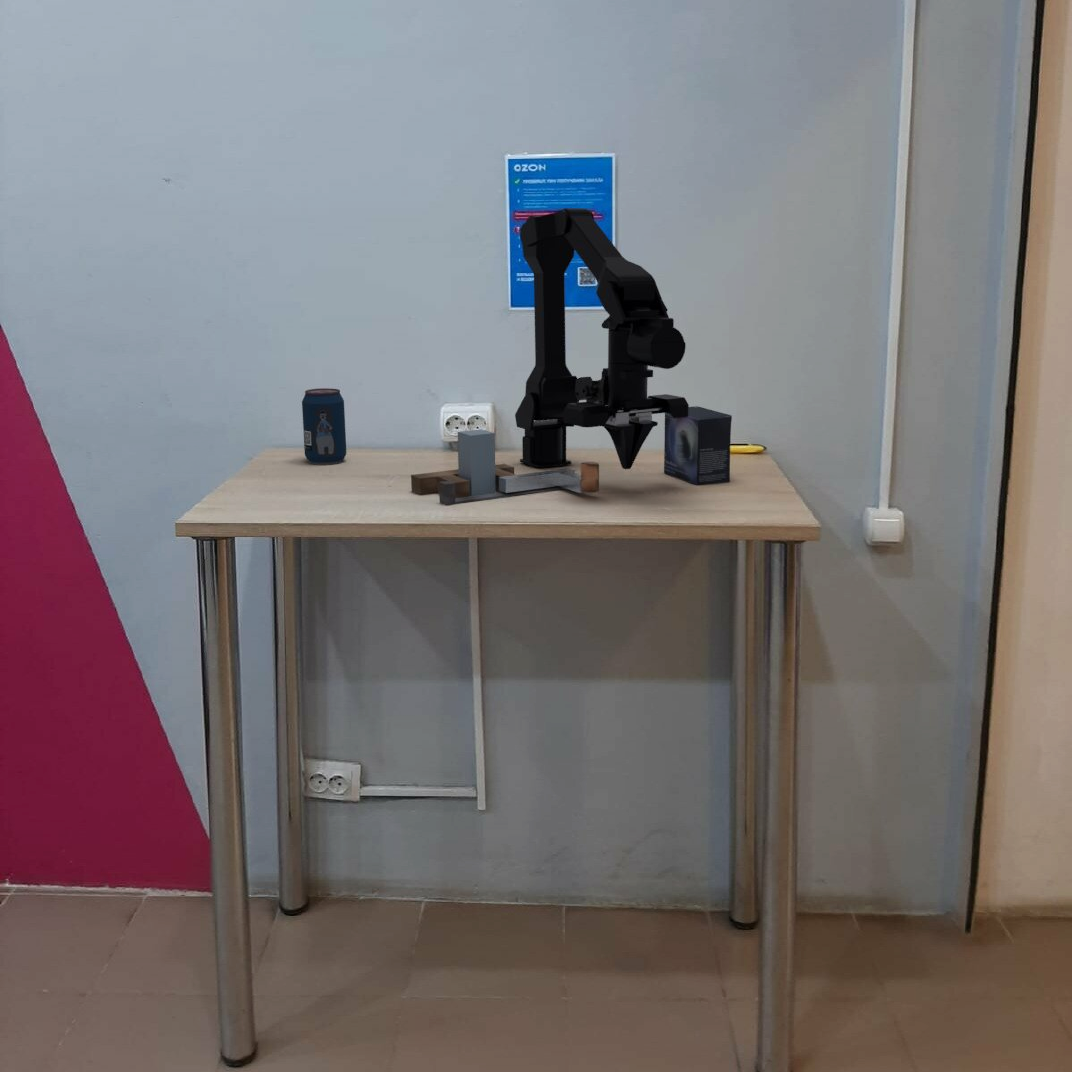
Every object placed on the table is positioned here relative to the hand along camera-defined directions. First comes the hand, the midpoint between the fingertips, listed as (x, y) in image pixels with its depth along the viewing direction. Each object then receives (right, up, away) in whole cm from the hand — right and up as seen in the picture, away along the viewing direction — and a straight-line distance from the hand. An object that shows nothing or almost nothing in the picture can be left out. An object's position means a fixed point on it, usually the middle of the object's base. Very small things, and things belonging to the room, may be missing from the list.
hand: (626, 468), depth 172 cm
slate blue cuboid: (-22, -3, +2) cm, 22 cm away
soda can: (-49, +3, +25) cm, 55 cm away
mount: (-19, -3, +3) cm, 20 cm away
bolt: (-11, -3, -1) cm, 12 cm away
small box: (+12, -1, +11) cm, 16 cm away
